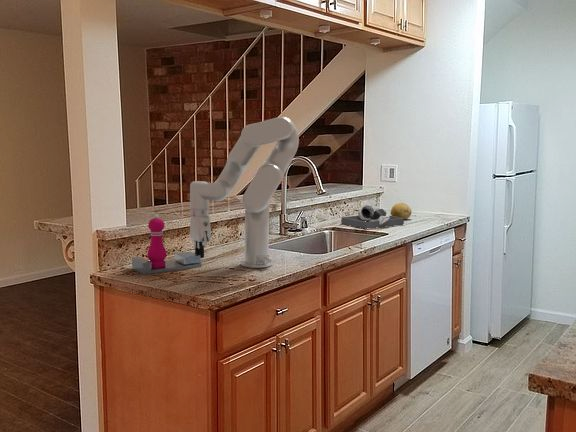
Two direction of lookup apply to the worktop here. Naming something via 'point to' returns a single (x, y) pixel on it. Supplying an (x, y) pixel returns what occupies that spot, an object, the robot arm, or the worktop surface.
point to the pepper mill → (156, 243)
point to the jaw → (187, 257)
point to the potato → (401, 210)
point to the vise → (145, 268)
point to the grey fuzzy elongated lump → (373, 214)
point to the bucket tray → (371, 222)
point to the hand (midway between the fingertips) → (199, 257)
